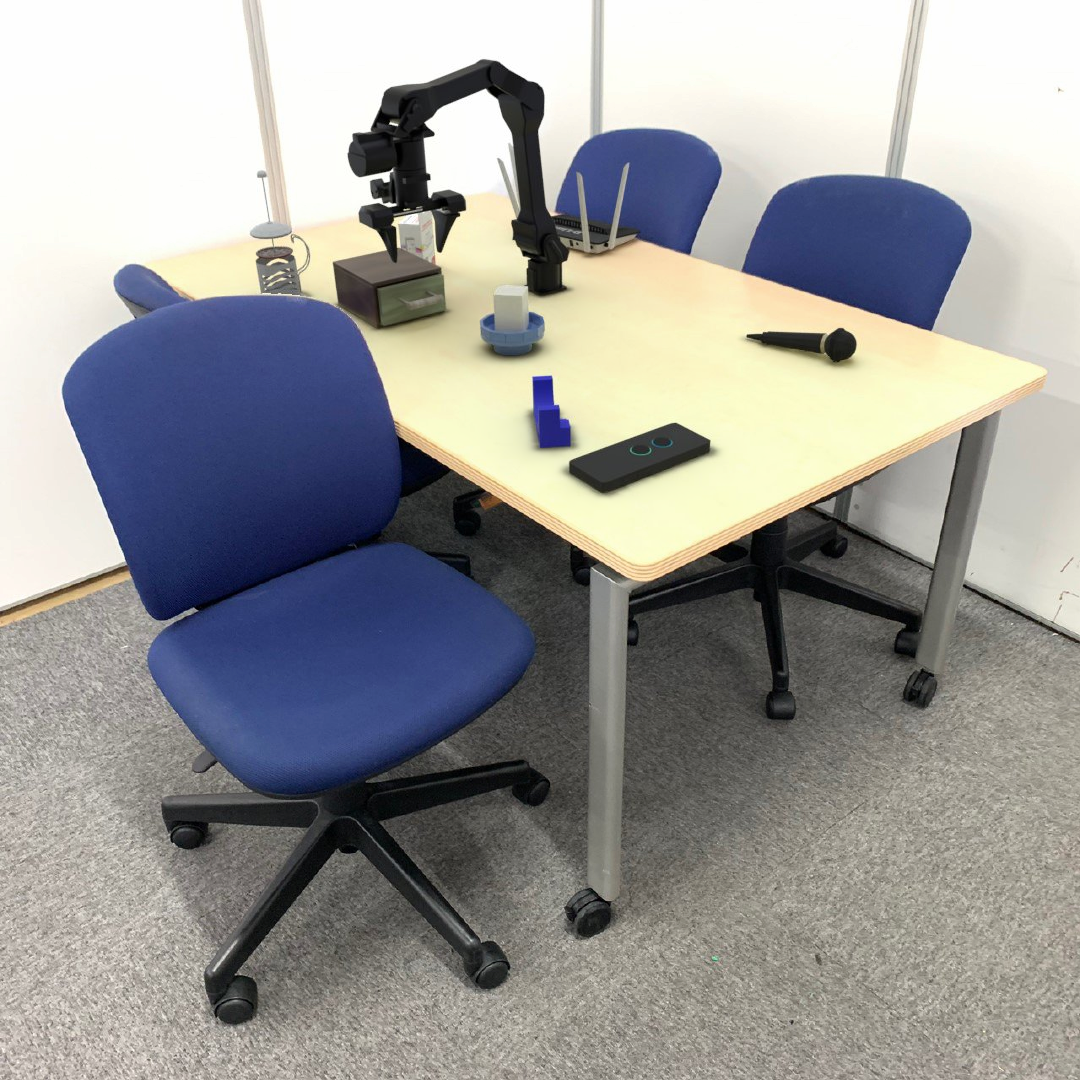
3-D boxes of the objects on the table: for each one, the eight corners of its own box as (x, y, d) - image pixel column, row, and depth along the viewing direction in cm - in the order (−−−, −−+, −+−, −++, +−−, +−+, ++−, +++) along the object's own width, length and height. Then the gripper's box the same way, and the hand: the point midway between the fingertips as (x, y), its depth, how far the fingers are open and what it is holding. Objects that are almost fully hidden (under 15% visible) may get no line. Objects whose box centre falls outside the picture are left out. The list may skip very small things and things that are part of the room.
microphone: (742, 358, 183) (850, 370, 171) (737, 331, 179) (846, 342, 167) (756, 340, 185) (863, 351, 173) (751, 313, 182) (859, 322, 170)
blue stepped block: (570, 446, 149) (570, 408, 146) (539, 447, 149) (538, 410, 146) (562, 410, 159) (561, 374, 156) (533, 412, 159) (532, 376, 156)
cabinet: (444, 311, 198) (441, 267, 193) (377, 328, 191) (372, 283, 186) (403, 289, 209) (399, 247, 205) (338, 304, 202) (332, 261, 198)
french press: (253, 295, 208) (230, 168, 194) (309, 287, 211) (291, 161, 198) (261, 311, 200) (238, 179, 187) (320, 301, 204) (302, 171, 190)
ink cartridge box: (414, 266, 221) (408, 197, 214) (436, 267, 221) (431, 197, 213) (402, 279, 214) (395, 208, 206) (425, 280, 214) (419, 208, 206)
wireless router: (661, 243, 232) (665, 151, 221) (598, 269, 217) (599, 171, 206) (547, 219, 250) (546, 133, 240) (483, 241, 236) (478, 151, 225)
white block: (501, 324, 182) (499, 284, 178) (529, 325, 181) (527, 286, 177) (495, 334, 178) (493, 294, 174) (523, 336, 177) (522, 295, 173)
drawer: (460, 317, 192) (457, 282, 189) (397, 333, 186) (393, 297, 182) (406, 289, 206) (403, 255, 203) (346, 303, 200) (342, 269, 196)
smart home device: (713, 440, 146) (604, 483, 136) (712, 451, 147) (603, 494, 137) (674, 420, 152) (566, 459, 142) (673, 430, 152) (566, 470, 143)
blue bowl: (521, 331, 188) (520, 305, 185) (557, 349, 180) (556, 323, 177) (469, 346, 182) (467, 319, 180) (504, 365, 175) (502, 338, 172)
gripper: (432, 151, 186) (439, 237, 194) (339, 167, 177) (350, 256, 185) (465, 162, 178) (470, 251, 186) (369, 179, 169) (379, 272, 178)
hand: (417, 257), depth 184 cm, fingers open, 9 cm apart
